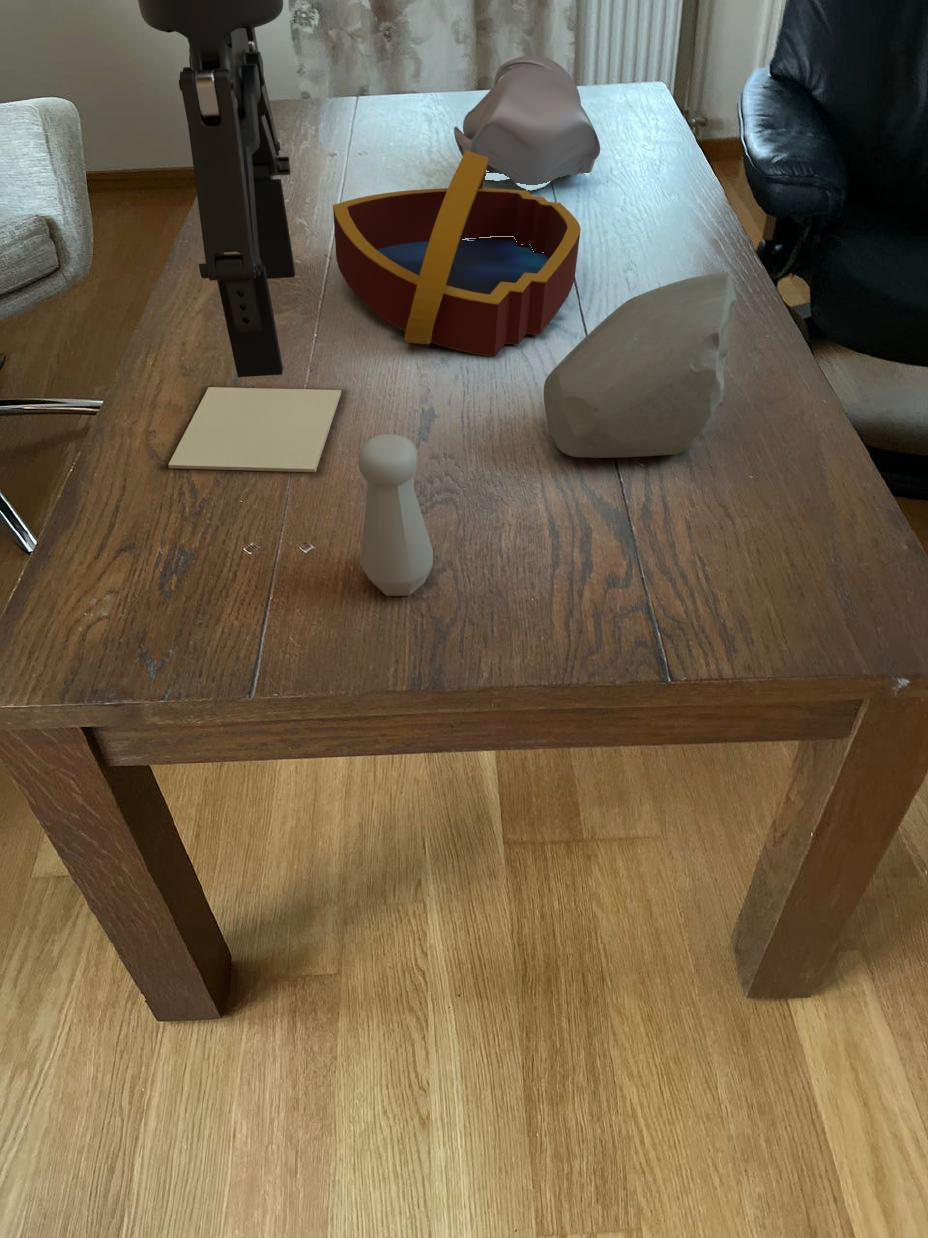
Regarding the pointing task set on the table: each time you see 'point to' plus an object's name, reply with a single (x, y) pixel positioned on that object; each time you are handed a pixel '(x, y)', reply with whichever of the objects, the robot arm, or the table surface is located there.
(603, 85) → the table surface
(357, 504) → the table surface
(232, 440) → the placemat
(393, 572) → the salt shaker
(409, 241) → the decorative basket
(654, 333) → the decorative stone
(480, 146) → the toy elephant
